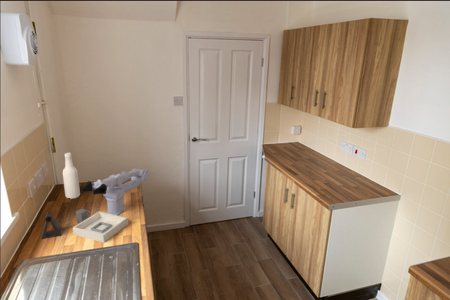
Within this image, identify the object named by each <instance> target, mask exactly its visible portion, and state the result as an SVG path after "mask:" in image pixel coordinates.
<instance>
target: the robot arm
mask: <svg viewBox="0 0 450 300" xmlns="http://www.w3.org/2000/svg"><path fill="white" fill-rule="evenodd" d="M149 176H150V171H149V169H143V168H138V167H134V168H132V170H130V171H122V172H121V173H117V174H111V175H109V176H108V177H107V178H103V179H102V180H101V179H97V181H93V182H92V181H89V180H88V181H87V182H86V184H84V185H83V186H82V187H81V189H80V190H81V191H80V193H85V192H92V195H100V194H101V195H102V196H103V197H104V198H105V200H106V204H107V211H106V212H105V213H109V214H113V215H117V216H119V215H120V214H122V213H123V212H125V211H126V208H125V201H124V198H123V197H124V195H125V193H127V192H129V191H132V190H133V189H136V188H138V187H139V186H141V185H142V184H143V183H144V182H145V181H147V180H148V178H149ZM130 179H131V180H130ZM124 182H125V183H124Z"/></svg>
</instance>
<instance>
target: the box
mask: <svg viewBox="0 0 450 300" xmlns="http://www.w3.org/2000/svg"><path fill="white" fill-rule="evenodd" d="M128 225H129V219H128V217H127V216H123V215H122V216H121V215H113V214H109V213H106V212H104V211H96V213H94V214H93V215H91V216H89V217H88V219H86V220H84V221H83V222H81V223H77V225H75V226H73V227H72V234H73V235H75V236H77V237H82V238H85V239H89V240H93V241H97V242H100V243H105V242H106V241H108V240H109V239H110V238H112V237H113V236H115V234H117V233H119V232H120V231H121V230H122V229H123V228H125V227H127V226H128Z"/></svg>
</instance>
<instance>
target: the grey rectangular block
mask: <svg viewBox="0 0 450 300" xmlns="http://www.w3.org/2000/svg"><path fill="white" fill-rule="evenodd" d="M75 217H76V223H77V224H79V223H81V222H83V221H84V220H86V219H88V218H89V217H88V210H87V209H85V208H84V209H83V208H80V209H78V210H76V211H75Z"/></svg>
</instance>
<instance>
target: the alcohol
mask: <svg viewBox="0 0 450 300" xmlns="http://www.w3.org/2000/svg"><path fill="white" fill-rule="evenodd" d="M72 155H73V154H72V153H71V152H64V165H65V166H64V167H63V170H62V178H63V181H62V182H63V188H64V194H65V198H66V199H68V198H70V199H69V200H72V199H77V198H79V197H80V196H81V191H80V190H81V189H80V181H79V171H78V168H76V167H75V165H74V163H73V158H72Z"/></svg>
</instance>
